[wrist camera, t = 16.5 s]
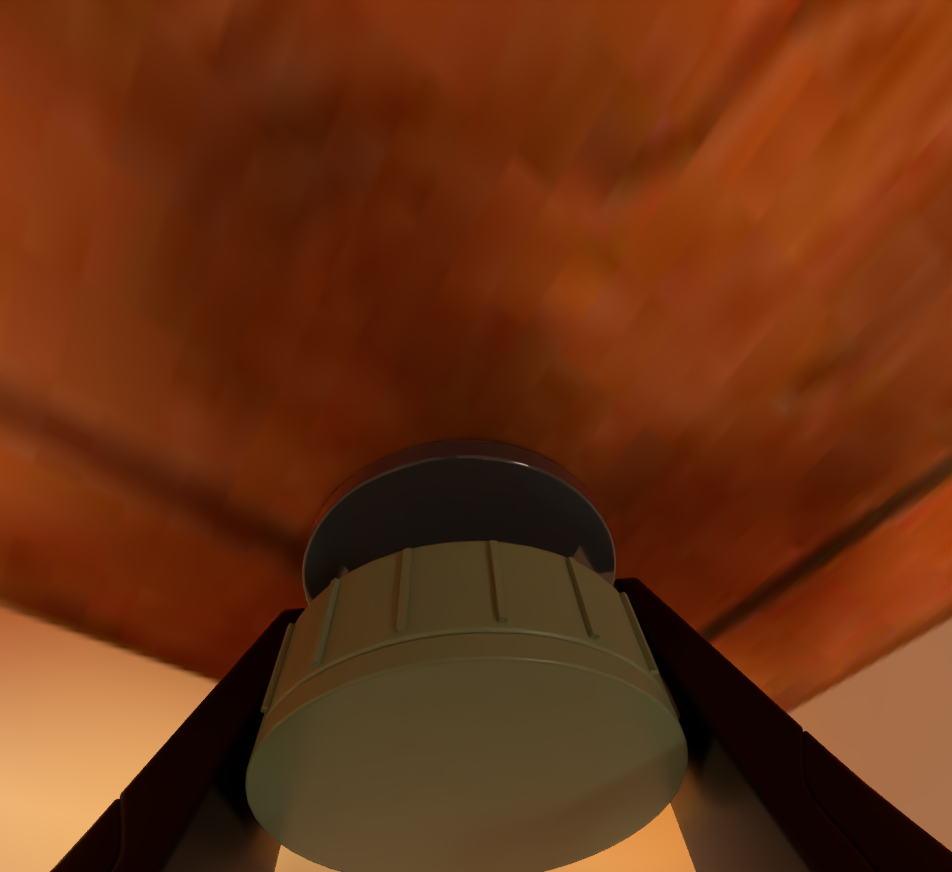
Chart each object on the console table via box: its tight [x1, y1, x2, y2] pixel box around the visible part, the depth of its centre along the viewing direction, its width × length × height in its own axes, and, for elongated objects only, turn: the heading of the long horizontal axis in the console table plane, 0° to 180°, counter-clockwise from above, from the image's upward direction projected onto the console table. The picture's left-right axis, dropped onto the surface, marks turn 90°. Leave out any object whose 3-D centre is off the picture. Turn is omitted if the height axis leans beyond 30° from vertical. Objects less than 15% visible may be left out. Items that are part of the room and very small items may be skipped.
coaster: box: [302, 440, 617, 605], centre depth 10 cm, size 6×6×1 cm
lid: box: [245, 540, 688, 872], centre depth 7 cm, size 6×6×2 cm
